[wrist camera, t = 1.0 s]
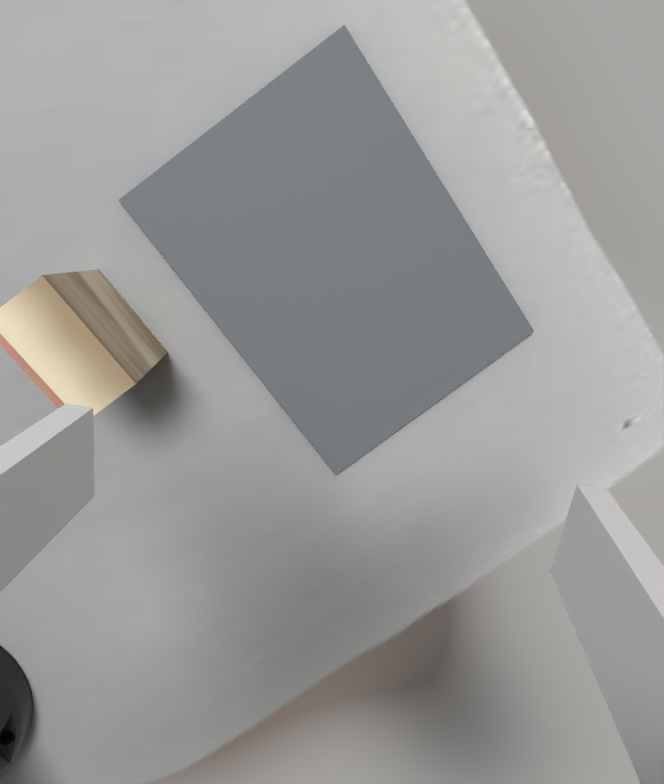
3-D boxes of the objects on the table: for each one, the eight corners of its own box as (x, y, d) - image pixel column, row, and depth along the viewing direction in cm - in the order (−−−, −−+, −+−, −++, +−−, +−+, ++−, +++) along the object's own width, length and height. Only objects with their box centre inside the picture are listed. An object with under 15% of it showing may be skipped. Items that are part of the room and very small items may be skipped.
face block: (122, 386, 40) (76, 428, 31) (52, 305, 39) (-20, 323, 29) (167, 352, 40) (136, 384, 30) (99, 269, 38) (42, 275, 29)
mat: (334, 472, 44) (335, 475, 43) (120, 201, 37) (118, 200, 37) (530, 330, 43) (534, 331, 42) (343, 28, 36) (344, 25, 36)
